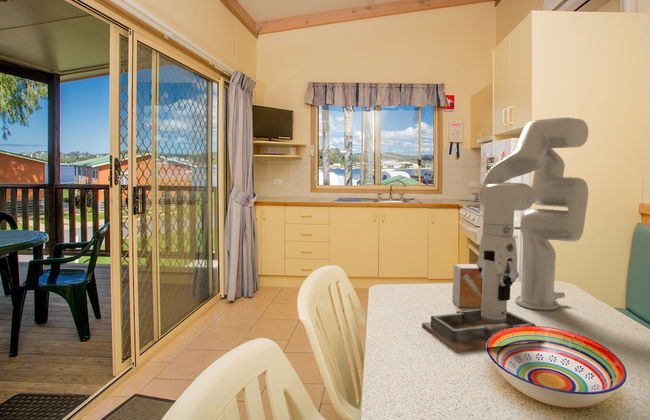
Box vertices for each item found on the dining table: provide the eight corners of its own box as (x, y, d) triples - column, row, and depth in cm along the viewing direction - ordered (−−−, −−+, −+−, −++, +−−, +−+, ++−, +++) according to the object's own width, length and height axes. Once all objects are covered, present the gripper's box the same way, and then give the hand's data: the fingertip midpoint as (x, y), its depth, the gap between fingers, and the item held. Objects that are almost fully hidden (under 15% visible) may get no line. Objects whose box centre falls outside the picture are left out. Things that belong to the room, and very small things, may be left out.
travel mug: (510, 324, 104) (513, 249, 102) (483, 323, 105) (486, 248, 104) (504, 316, 110) (507, 245, 108) (479, 315, 111) (481, 244, 110)
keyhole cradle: (497, 318, 118) (498, 305, 118) (542, 341, 102) (543, 326, 102) (422, 326, 112) (422, 312, 112) (456, 352, 96) (457, 336, 95)
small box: (459, 307, 128) (460, 268, 127) (451, 301, 134) (453, 263, 133) (483, 307, 128) (485, 267, 127) (475, 301, 134) (476, 263, 133)
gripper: (534, 234, 98) (530, 305, 100) (488, 226, 115) (486, 286, 116) (508, 235, 96) (505, 307, 98) (465, 226, 113) (463, 288, 115)
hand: (495, 295), depth 107 cm, fingers closed on travel mug, 6 cm apart
